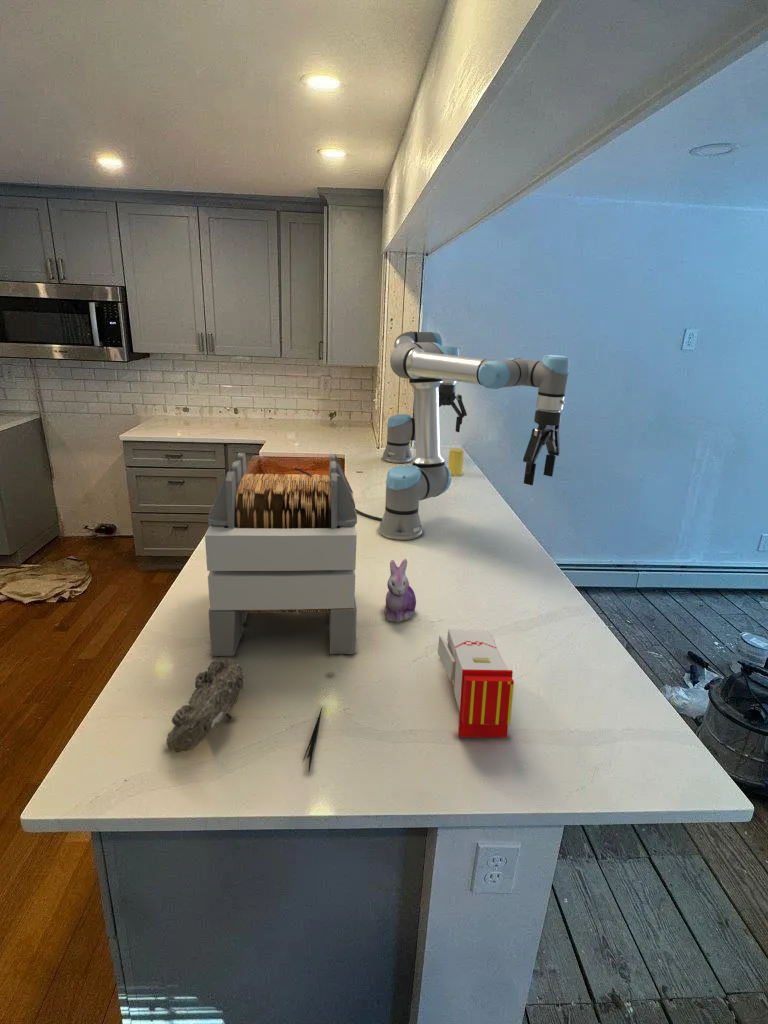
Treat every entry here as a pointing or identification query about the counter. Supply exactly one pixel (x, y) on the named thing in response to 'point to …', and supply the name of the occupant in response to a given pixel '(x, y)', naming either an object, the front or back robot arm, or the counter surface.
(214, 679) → the fossil
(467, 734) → the toy
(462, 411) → the back robot arm
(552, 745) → the counter surface
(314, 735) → the feather
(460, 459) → the cylinder
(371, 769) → the counter surface
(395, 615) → the figurine
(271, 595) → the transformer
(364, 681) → the counter surface
